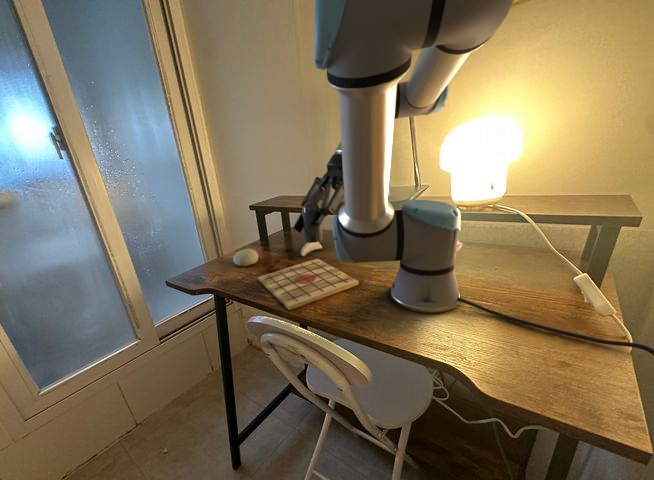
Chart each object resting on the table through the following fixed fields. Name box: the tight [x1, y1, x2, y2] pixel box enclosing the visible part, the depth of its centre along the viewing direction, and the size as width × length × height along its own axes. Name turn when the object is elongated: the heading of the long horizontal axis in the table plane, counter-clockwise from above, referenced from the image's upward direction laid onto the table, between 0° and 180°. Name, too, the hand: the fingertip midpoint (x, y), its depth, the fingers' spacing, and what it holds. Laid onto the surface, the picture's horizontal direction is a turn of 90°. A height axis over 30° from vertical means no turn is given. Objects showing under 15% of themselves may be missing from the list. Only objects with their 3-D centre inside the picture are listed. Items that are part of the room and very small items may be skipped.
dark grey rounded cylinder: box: [301, 202, 324, 243], centre depth 86 cm, size 5×5×11 cm
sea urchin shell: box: [232, 248, 259, 268], centre depth 110 cm, size 9×8×8 cm
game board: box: [257, 258, 360, 311], centre depth 90 cm, size 22×22×1 cm
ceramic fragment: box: [299, 242, 323, 258], centre depth 112 cm, size 14×5×4 cm, turn 143°
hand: (302, 232), depth 85 cm, fingers closed on dark grey rounded cylinder, 5 cm apart
